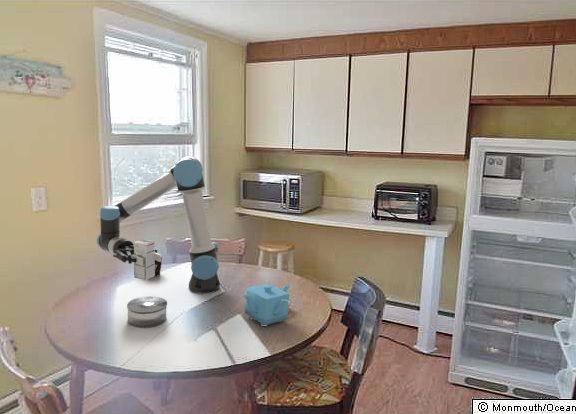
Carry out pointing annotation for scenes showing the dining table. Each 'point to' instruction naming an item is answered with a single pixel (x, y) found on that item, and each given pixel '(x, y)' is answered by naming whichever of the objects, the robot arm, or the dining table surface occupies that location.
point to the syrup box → (145, 259)
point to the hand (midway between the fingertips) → (151, 260)
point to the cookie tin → (147, 312)
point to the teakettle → (267, 303)
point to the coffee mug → (158, 267)
